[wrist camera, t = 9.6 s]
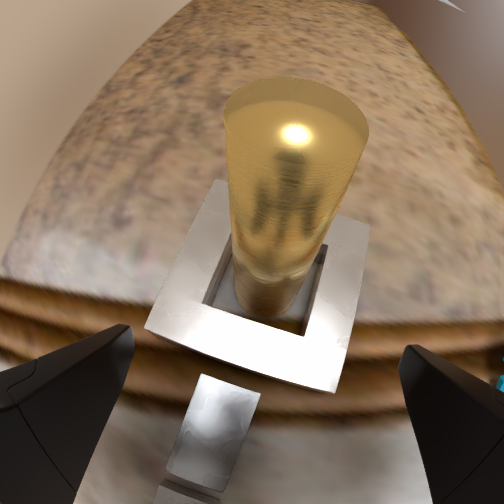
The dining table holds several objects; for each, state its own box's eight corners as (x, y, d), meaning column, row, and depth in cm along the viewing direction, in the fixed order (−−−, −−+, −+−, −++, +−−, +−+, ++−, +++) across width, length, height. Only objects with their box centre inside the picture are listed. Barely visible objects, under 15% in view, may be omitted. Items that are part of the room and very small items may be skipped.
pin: (273, 330, 17) (331, 192, 6) (223, 294, 18) (192, 120, 6) (306, 282, 18) (386, 115, 7) (258, 251, 19) (276, 66, 8)
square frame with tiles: (243, 578, 9) (243, 597, 7) (91, 520, 10) (74, 531, 8) (372, 124, 25) (379, 105, 23) (273, 96, 27) (275, 76, 25)
